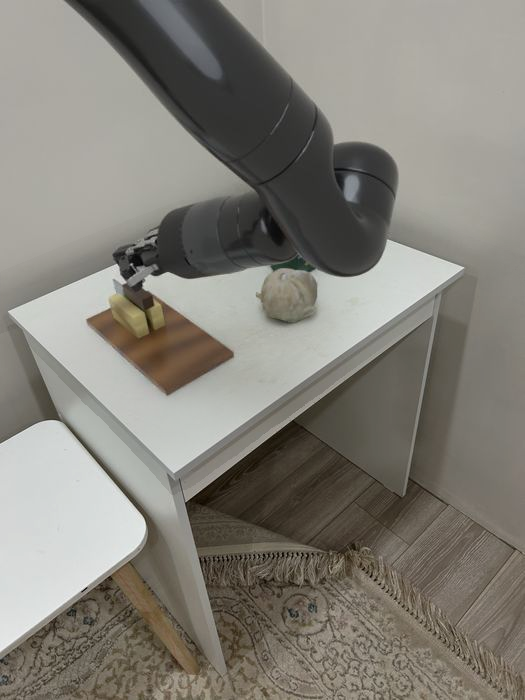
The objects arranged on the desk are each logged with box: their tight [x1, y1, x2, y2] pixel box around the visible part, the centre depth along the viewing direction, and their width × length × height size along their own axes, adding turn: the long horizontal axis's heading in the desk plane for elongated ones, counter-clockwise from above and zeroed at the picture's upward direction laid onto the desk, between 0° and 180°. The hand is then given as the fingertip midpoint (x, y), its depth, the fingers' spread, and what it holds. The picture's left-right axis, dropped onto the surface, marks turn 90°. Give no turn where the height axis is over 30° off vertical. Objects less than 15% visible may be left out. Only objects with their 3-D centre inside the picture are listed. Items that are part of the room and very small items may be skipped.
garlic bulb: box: [255, 268, 318, 324], centre depth 86 cm, size 9×8×10 cm
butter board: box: [85, 290, 235, 397], centre depth 84 cm, size 24×12×5 cm, turn 41°
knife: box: [112, 278, 154, 311], centre depth 86 cm, size 11×2×7 cm, turn 41°
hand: (120, 257), depth 67 cm, fingers closed
